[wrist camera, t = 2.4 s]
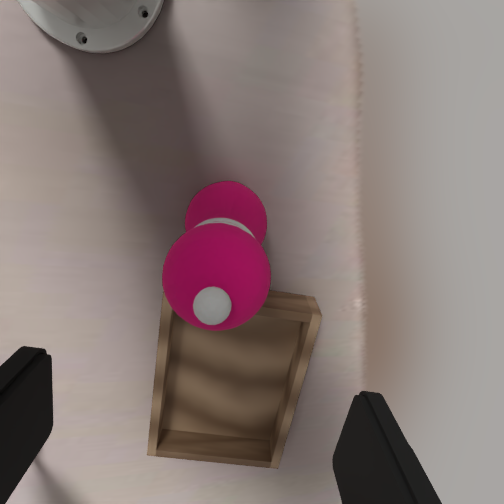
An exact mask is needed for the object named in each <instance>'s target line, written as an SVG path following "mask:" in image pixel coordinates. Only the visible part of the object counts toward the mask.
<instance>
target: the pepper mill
mask: <svg viewBox="0 0 504 504" xmlns="http://www.w3.org/2000/svg"><path fill="white" fill-rule="evenodd" d="M185 229H186V233H185V234H183V235H182V236H181V237H180V238H179V239H178V240H177V241H176V242H175V243H174V244H173V245H172V247H171V249H170V250H169V252H168V254H167V256H166V259H165V262H164V265H163V273H162V282H163V289H164V293H165V296H166V298H167V300H168V303H169V304H170V306H171V307H172V309H173V310H174V311H175V312H176V313H177V315H178V316H180V317H181V318H182V319H184V320H185V321H186V322H188V323H190V324H191V325H193V326H195V327H198V328H201V329H205V330H211V331H221V330H227V329H232V328H235V327H238V326H240V325H242V324H244V323H245V322H247V321H248V320H249V319H251V318H252V317H253V316H254V315H255V314H256V313H257V312H258V311H259V309H260V308H261V307H262V305H263V304H264V302H265V300H266V298H267V295H268V292H269V288H270V281H271V271H270V264H269V261H268V258H267V256H266V254H265V252H264V249H263V247H262V246H261V244H262V242H263V240H264V237H265V235H266V229H267V217H266V212H265V209H264V206H263V204H262V202H261V201H260V199H259V198H258V196H257V195H256V194H255V193H254V192H253V191H251V190H250V189H248V188H247V187H245V186H244V185H242V184H240V183H237V182H233V181H223V182H218V183H214V184H211V185H209V186H207V187H205V188H203V189H202V190H201V191H199V192H198V193H197V194H196V195H195V196H194V198H193V199H192V201H191V202H190V205H189V207H188V210H187V213H186V217H185Z"/></svg>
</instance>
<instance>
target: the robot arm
mask: <svg viewBox="0 0 504 504" xmlns="http://www.w3.org/2000/svg"><path fill="white" fill-rule="evenodd" d="M17 1H18V3H19V4H20V6H21V7H22V9H23V10H24V11H25V12H26V14H27V15H28V16H29V17H30V18H31V19H32V20H33V21H34V23H35V24H36V25H38V26H39V27H40V28H41V29H42V30H44V31H45V32H46V33H47V34H48V35H50V36H52V37H53V38H55V39H57V40H58V41H60V42H62V43H64V44H66V45H68V46H70V47H72V48H75V49H78V50H82V51H86V52H89V53H109V52H115V51H119V50H122V49H124V48H126V47H129V46H131V45H132V44H134V43H135V42H137V41H138V40H139V39H141V38H142V37H143V36H144V35H145V34H146V33H147V31H148V30H149V29H150V28H151V27H152V26H153V24H154V22H155V20H156V19H157V17H158V15H159V13H160V11H161V8H162V5H163V2H164V0H17ZM145 12H147V13H148V16H147V17H146V18H144V17H143V14H144V13H145ZM85 38H87V43H84V39H85ZM52 427H53V394H52V358H51V355H48V354H47V353H46V350H45V349H42V348H35V347H27V346H23V347H21V348H19V349H18V350H17V351H16V352H15V353H14V354H13V355H12V356H11V357H10V358H9V359H8V360H7V361H5V362H4V363H3V364H2V365H1V366H0V504H5V503H6V502H7V500H8V499H9V497H10V496H11V494H12V492H13V491H14V489H15V488H16V486H17V485H18V483H19V482H20V480H21V479H22V477H23V476H24V474H25V472H26V471H27V469H28V468H29V466H30V465H31V463H32V462H33V460H34V459H35V457H36V456H37V454H38V453H39V451H40V449H41V448H42V446H43V445H44V443H45V442H46V440H47V439H48V437H49V435H50V433H51V431H52ZM333 470H334V474H335V477H336V481H337V485H338V489H339V492H340V496H341V500H342V504H442V503H441V501H440V499H439V498H438V496H437V494H436V492H435V490H434V488H433V486H432V484H431V483H430V481H429V479H428V477H427V475H426V473H425V472H424V470H423V468H422V466H421V464H420V462H419V460H418V458H417V457H416V455H415V453H414V451H413V449H412V448H411V447H410V445H409V444H408V442H407V440H406V439H405V437H404V435H403V433H402V431H401V429H400V427H399V426H398V424H397V422H396V420H395V418H394V416H393V414H392V412H391V411H390V409H389V407H388V405H387V403H386V401H385V399H384V397H383V396H382V395H381V394H380V393H374V392H367V391H361V392H360V394H359V395H355V396H354V398H353V401H352V404H351V407H350V409H349V412H348V415H347V418H346V421H345V424H344V426H343V429H342V432H341V435H340V438H339V440H338V443H337V446H336V449H335V452H334V454H333Z"/></svg>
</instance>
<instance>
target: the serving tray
mask: <svg viewBox="0 0 504 504" xmlns="http://www.w3.org/2000/svg"><path fill="white" fill-rule="evenodd" d="M321 318H322V314H321V312H320V309H319V307H318V305H317V303H316V300H315V298H314V297H311V296H304V295H297V294H291V293H284V292H277V291H271V290H269V292H268V295H267V298H266V300H265V302H264V304H263V305H262V307H261V308H260V309H259V311H258V312H257V313H256V314H255V315H254V316H253V317H252V318H251V319H249V320H248V321H247V322H245V323H244V324H242V325H240V326H238V327H235V328H232V329H227V330H221V331H211V330H205V329H201V328H198V327H195V326H193V325H191V324H190V323H188V322H186V321H185V320H184V319H182V318H181V317H180V316H178V315H177V313H176V312H175V311H174V310H173V309H172V307H171V306H170V304H169V303H168V300H167V298H166V296H165V293H164V292H163V298H162V308H161V318H160V328H159V339H158V349H157V359H156V369H155V379H154V389H153V399H152V409H151V420H150V430H149V440H148V450H147V455H148V456H158V457H168V458H177V459H187V460H197V461H207V462H217V463H227V464H236V465H246V466H256V467H266V468H276V469H278V466H279V463H280V459H281V456H282V453H283V449H284V446H285V442H286V439H287V435H288V432H289V429H290V425H291V422H292V418H293V415H294V411H295V408H296V404H297V401H298V398H299V394H300V391H301V387H302V384H303V380H304V377H305V373H306V370H307V367H308V363H309V360H310V356H311V353H312V349H313V346H314V342H315V339H316V336H317V332H318V329H319V325H320V322H321Z"/></svg>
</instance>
